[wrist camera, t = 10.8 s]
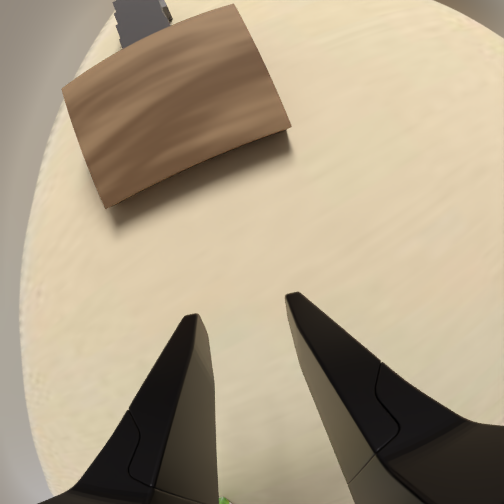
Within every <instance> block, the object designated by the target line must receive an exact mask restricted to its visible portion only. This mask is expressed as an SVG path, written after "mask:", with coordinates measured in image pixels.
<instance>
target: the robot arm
mask: <svg viewBox="0 0 504 504" xmlns="http://www.w3.org/2000/svg"><path fill="white" fill-rule="evenodd" d="M285 303H286V310H287V316H288V321H289V325H290V329H291V333H292V337H293V341H294V344H295V348H296V352H297V356H298V360H299V364H300V367H301V369H302V372H303V375H304V377H305V380H306V382H307V385H308V387H309V390H310V392H311V395H312V397H313V400H314V402H315V405H316V407H317V410H318V412H319V415H320V417H321V420H322V422H323V425H324V427H325V430H326V432H327V435H328V437H329V440H330V442H331V445H332V447H333V450H334V452H335V454H336V457H337V459H338V462H339V464H340V467H341V470H342V472H343V475H344V477H345V480H346V482H347V484H348V487H349V490H350V492H351V495H352V497H353V500H354V502H355V504H504V426H500V425H490V424H482V423H477V422H473V421H471V420H468V419H466V418H463V417H461V416H460V415H458V414H456V413H455V412H453V411H451V410H450V409H448V408H447V407H445V406H443V405H442V404H440V403H439V402H437V401H435V400H434V399H432V398H431V397H429V396H428V395H426V394H424V393H423V392H421V391H420V390H418V389H417V388H415V387H414V386H413V385H411V384H410V383H408V382H407V381H405V380H404V379H403V378H402V377H400V376H399V375H398V374H397V373H395V372H394V371H393V370H392V369H390V368H389V367H388V366H387V365H386V364H385V363H383V362H381V360H380V359H378V358H377V357H376V356H375V355H374V354H372V353H371V352H370V351H369V350H368V349H367V348H365V347H364V346H363V345H362V344H361V343H359V342H358V341H357V340H356V339H355V338H353V337H352V336H351V335H350V334H349V333H348V332H346V331H345V330H344V329H343V328H342V327H340V326H339V325H338V324H337V323H336V322H334V321H333V320H332V319H331V318H330V317H329V316H327V315H326V314H325V313H324V312H323V311H321V310H320V309H319V308H318V307H317V306H315V305H314V304H313V303H312V302H311V301H310V300H308V299H307V298H306V297H305V296H304V295H302V294H301V293H300V292H293V293H289V294H286V295H285ZM38 504H219V493H218V475H217V453H216V425H215V385H214V376H213V368H212V361H211V353H210V346H209V338H208V334H207V331H206V328H205V326H204V324H203V322H202V319H201V317H200V315H199V314H197V313H195V314H190V315H186V316H184V317H183V319H182V320H181V322H180V323H179V325H178V327H177V328H176V330H175V332H174V333H173V335H172V336H171V338H170V340H169V341H168V343H167V345H166V346H165V348H164V349H163V351H162V353H161V354H160V356H159V358H158V359H157V361H156V363H155V364H154V366H153V368H152V369H151V371H150V373H149V374H148V376H147V378H146V379H145V381H144V383H143V384H142V386H141V388H140V389H139V391H138V393H137V394H136V396H135V398H134V399H133V401H132V403H131V405H130V406H129V410H127V411H126V413H125V415H124V416H123V418H122V420H121V421H120V423H119V425H118V426H117V428H116V429H115V431H114V433H113V434H112V436H111V437H110V439H109V440H108V442H107V443H106V444H105V446H104V447H103V449H102V450H101V452H100V453H99V454H98V456H97V457H96V458H95V460H94V461H93V462H92V464H91V465H90V466H89V468H88V469H87V471H86V472H85V473H84V475H83V476H82V477H81V479H80V480H79V481H78V482H77V483H76V484H75V485H74V486H73V487H72V488H70V489H69V490H68V491H66V492H64V493H62V494H60V495H58V496H55V497H53V498H50V499H48V500H46V501H43V502H41V503H38Z"/></svg>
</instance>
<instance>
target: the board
mask: <svg viewBox="0 0 504 504" xmlns="http://www.w3.org/2000/svg"><path fill="white" fill-rule="evenodd" d="M62 92H63V96H64V99H65V103H66V106H67V109H68V112H69V116H70V119H71V122H72V125H73V128H74V131H75V134H76V137H77V139H78V142H79V145H80V148H81V150H82V153H83V156H84V158H85V161H86V164H87V166H88V169H89V171H90V174H91V176H92V179H93V181H94V184H95V186H96V188H97V191H98V193H99V195H100V198H101V200H102V202H103V204H104V207H105V209H107V208H109V207H111V206H113V205H116V204H118V203H119V202H121V201H123V200H125V199H127V198H129V197H131V196H132V195H134V194H136V193H138V192H140V191H142V190H144V189H146V188H148V187H150V186H152V185H154V184H156V183H158V182H160V181H162V180H164V179H166V178H168V177H171V176H173V175H175V174H177V173H179V172H181V171H183V170H186V169H188V168H190V167H192V166H194V165H197V164H199V163H201V162H204V161H206V160H208V159H211V158H213V157H215V156H218V155H220V154H222V153H225V152H227V151H230V150H232V149H235V148H237V147H240V146H242V145H245V144H248V143H250V142H253V141H255V140H258V139H261V138H264V137H266V136H269V135H272V134H275V133H278V132H280V131H283V130H286V129H288V128H290V127H292V126H291V124H290V121H289V119H288V116H287V114H286V111H285V109H284V107H283V104H282V102H281V100H280V97H279V95H278V93H277V90H276V88H275V86H274V84H273V81H272V79H271V77H270V75H269V73H268V70H267V68H266V66H265V64H264V62H263V60H262V58H261V55H260V53H259V51H258V49H257V47H256V45H255V43H254V41H253V39H252V37H251V35H250V33H249V31H248V29H247V27H246V25H245V23H244V22H243V20H242V18H241V16H240V14H239V12H238V10H237V8H236V7H235V5H234V4H231V5H227V6H224V7H221V8H218V9H214V10H211V11H208V12H205V13H203V14H200V15H197V16H194V17H191V18H189V19H186V20H184V21H181V22H179V23H176V24H174V25H171V26H169V27H167V28H164V29H162V30H160V31H158V32H156V33H153V34H151V35H149V36H147V37H145V38H143V39H141V40H139V41H137V42H135V43H133V44H131V45H129V46H128V47H126V48H124V49H122V50H120V51H118V52H117V53H115V54H113V55H112V56H110V57H108V58H106V59H105V60H103V61H102V62H100V63H98V64H97V65H95V66H94V67H92V68H90V69H89V70H87V71H86V72H84V73H83V74H81V75H80V76H79V77H77V78H76V79H74V80H73V81H71V82H70V83H69V84H67V85H66V86H65V87H63V88H62Z"/></svg>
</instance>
